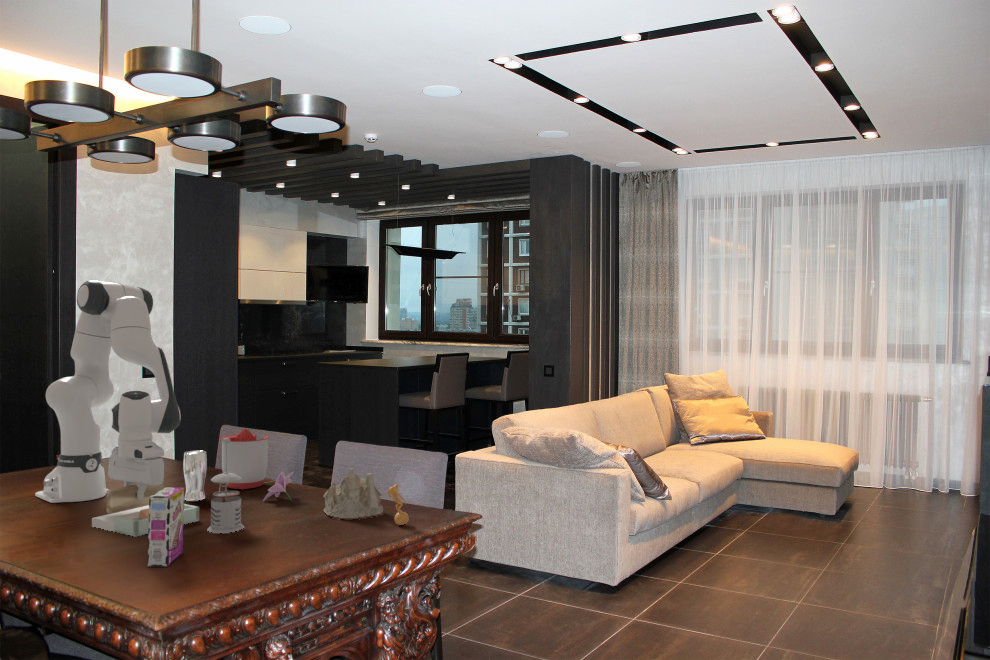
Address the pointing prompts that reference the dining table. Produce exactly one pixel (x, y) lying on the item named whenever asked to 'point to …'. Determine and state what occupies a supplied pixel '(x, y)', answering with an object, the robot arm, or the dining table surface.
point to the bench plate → (108, 520)
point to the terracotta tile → (144, 513)
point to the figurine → (401, 516)
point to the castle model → (353, 497)
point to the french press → (226, 504)
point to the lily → (279, 485)
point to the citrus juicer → (245, 459)
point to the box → (142, 525)
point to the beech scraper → (129, 498)
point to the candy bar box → (165, 526)
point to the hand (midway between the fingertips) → (135, 497)
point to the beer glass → (195, 474)
